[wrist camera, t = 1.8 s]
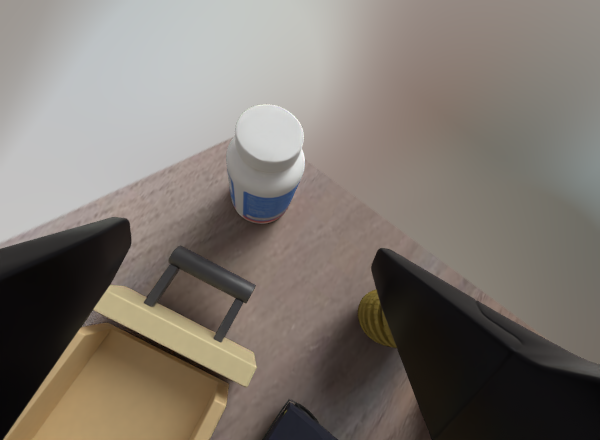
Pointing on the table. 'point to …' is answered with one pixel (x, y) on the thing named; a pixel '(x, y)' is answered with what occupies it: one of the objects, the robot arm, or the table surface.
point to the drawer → (142, 368)
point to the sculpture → (374, 320)
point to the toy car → (297, 425)
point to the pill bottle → (265, 162)
